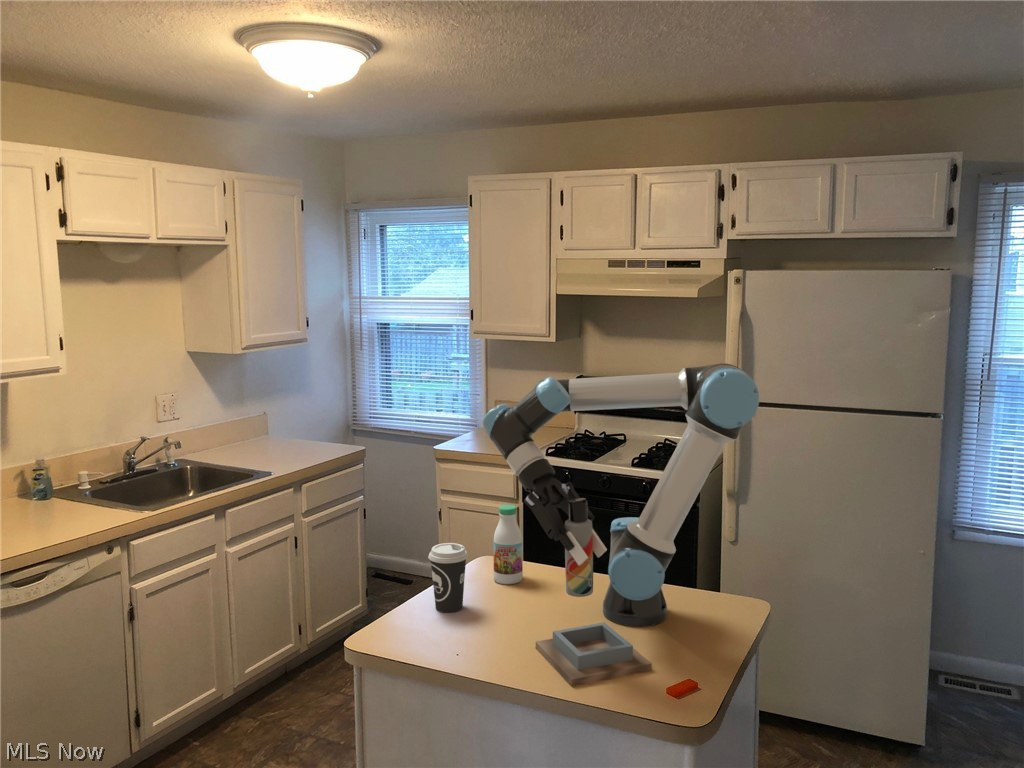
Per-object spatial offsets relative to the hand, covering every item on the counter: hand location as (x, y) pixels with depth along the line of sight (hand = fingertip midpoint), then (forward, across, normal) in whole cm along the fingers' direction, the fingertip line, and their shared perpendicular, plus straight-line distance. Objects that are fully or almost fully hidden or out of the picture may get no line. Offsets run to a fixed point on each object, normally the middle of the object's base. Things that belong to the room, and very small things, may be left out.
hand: (593, 557), depth 163 cm
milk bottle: (-17, -22, -48) cm, 56 cm away
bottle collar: (+14, -1, -16) cm, 21 cm away
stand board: (+15, -1, -17) cm, 23 cm away
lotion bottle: (+3, 0, -9) cm, 9 cm away
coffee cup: (-15, +1, -47) cm, 49 cm away
